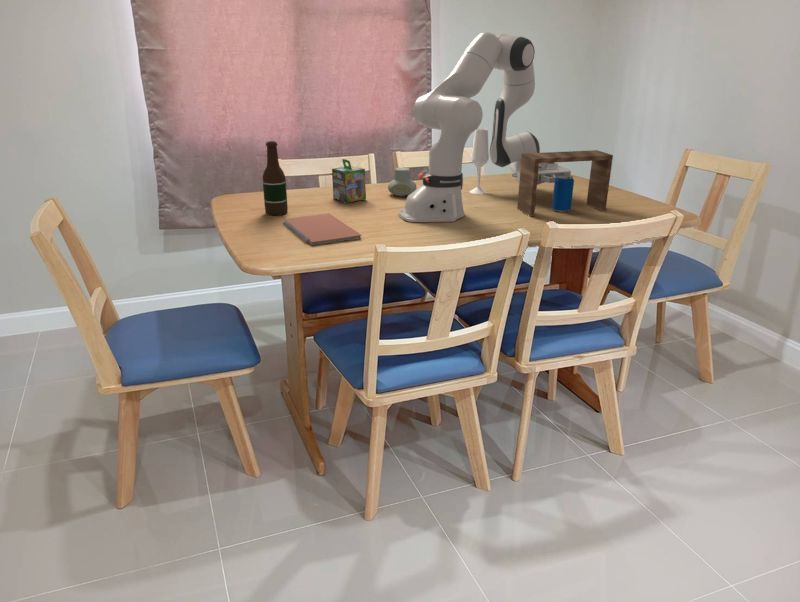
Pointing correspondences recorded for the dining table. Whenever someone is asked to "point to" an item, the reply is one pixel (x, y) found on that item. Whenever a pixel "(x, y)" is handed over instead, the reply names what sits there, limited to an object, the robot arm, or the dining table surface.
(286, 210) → the beer bottle
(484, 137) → the champagne flute
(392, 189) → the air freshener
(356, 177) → the chalk box
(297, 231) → the notebook
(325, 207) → the dining table surface
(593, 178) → the walnut riser shelf
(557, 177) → the beverage can
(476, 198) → the dining table surface
